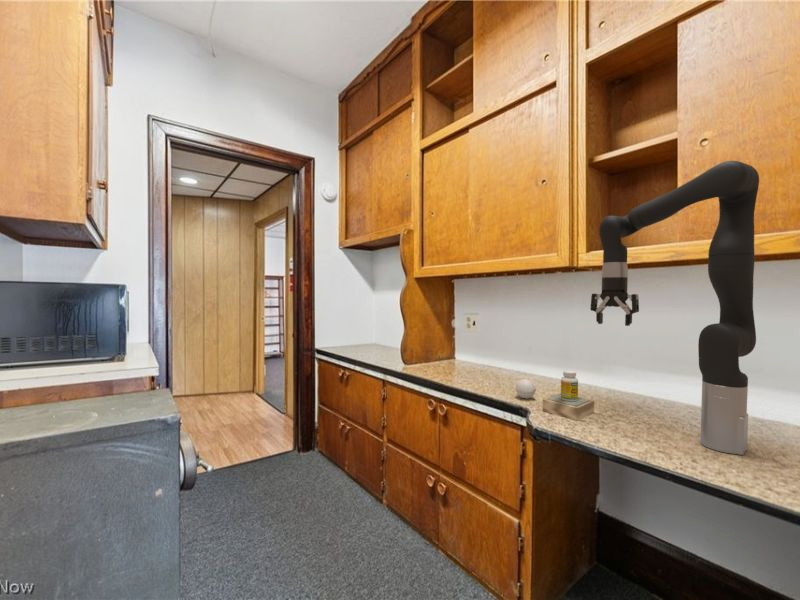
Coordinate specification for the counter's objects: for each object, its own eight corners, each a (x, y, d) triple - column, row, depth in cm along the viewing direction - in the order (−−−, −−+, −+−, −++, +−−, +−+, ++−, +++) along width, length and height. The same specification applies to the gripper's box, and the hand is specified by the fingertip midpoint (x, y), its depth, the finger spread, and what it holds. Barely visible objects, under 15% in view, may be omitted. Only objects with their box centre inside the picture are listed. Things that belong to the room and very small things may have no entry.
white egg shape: (531, 402, 140) (531, 382, 139) (512, 398, 145) (512, 379, 144) (541, 396, 147) (541, 378, 147) (522, 393, 152) (523, 375, 152)
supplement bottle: (566, 396, 133) (566, 369, 132) (581, 400, 128) (581, 372, 128) (557, 398, 130) (557, 371, 129) (572, 402, 125) (572, 374, 125)
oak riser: (594, 412, 129) (594, 400, 128) (577, 420, 121) (577, 407, 121) (559, 404, 138) (560, 392, 138) (542, 411, 130) (542, 398, 130)
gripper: (642, 276, 123) (641, 325, 124) (597, 277, 134) (596, 322, 135) (634, 275, 119) (632, 327, 119) (587, 276, 130) (586, 323, 130)
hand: (613, 324), depth 127 cm, fingers open, 8 cm apart
